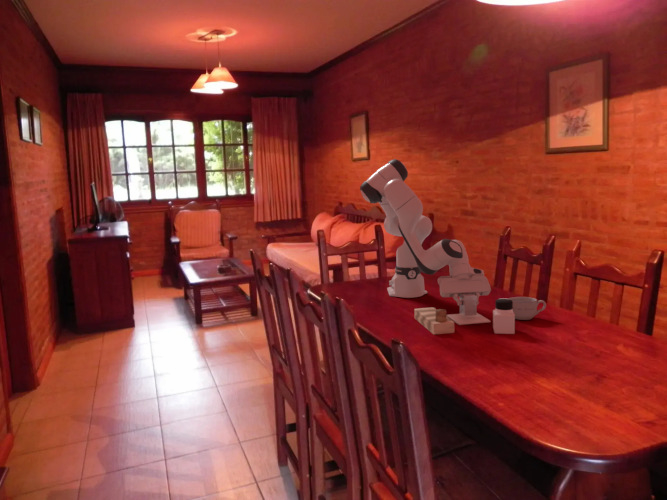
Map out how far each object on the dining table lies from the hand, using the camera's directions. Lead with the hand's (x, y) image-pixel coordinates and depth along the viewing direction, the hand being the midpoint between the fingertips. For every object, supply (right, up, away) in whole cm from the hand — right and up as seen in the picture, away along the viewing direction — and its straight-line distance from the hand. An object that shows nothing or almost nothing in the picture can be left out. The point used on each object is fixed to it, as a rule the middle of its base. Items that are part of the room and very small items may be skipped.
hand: (468, 304), depth 212 cm
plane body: (-15, -8, -5) cm, 17 cm away
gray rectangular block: (0, -4, +1) cm, 4 cm away
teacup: (+23, -6, -1) cm, 24 cm away
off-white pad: (0, -6, +2) cm, 6 cm away
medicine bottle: (+9, -8, -15) cm, 19 cm away
